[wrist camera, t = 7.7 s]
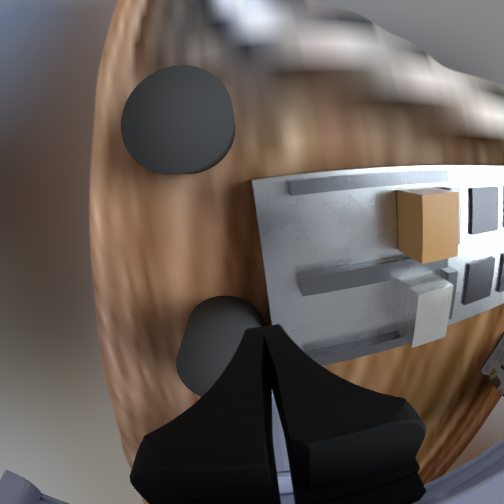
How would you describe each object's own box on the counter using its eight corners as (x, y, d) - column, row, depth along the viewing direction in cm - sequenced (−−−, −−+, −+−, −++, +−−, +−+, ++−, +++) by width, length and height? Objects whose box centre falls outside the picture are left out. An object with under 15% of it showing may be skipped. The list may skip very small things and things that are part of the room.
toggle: (398, 250, 18) (422, 263, 15) (396, 190, 17) (421, 194, 14) (432, 244, 18) (457, 256, 15) (431, 187, 17) (458, 191, 14)
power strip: (273, 345, 23) (282, 395, 17) (250, 179, 19) (254, 181, 13) (501, 286, 23) (537, 307, 17) (508, 165, 19) (550, 170, 13)
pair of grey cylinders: (197, 364, 23) (189, 404, 18) (144, 100, 17) (117, 81, 13) (268, 355, 23) (274, 396, 18) (228, 82, 17) (224, 56, 13)
